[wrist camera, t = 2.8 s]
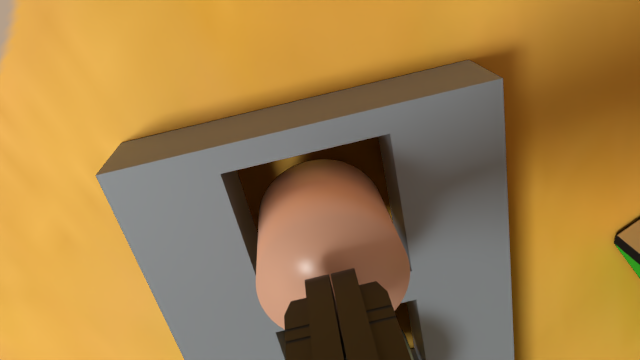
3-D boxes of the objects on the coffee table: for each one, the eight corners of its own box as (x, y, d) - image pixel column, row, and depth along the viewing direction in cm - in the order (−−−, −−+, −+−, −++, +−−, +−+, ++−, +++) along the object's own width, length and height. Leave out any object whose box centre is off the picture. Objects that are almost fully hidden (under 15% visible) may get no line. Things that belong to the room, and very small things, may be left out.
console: (468, 59, 18) (502, 78, 16) (495, 433, 29) (519, 482, 26) (120, 143, 18) (95, 175, 16) (271, 484, 29) (271, 540, 26)
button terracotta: (371, 145, 17) (399, 197, 13) (391, 252, 19) (418, 321, 16) (243, 176, 17) (236, 236, 14) (276, 279, 19) (277, 354, 16)
